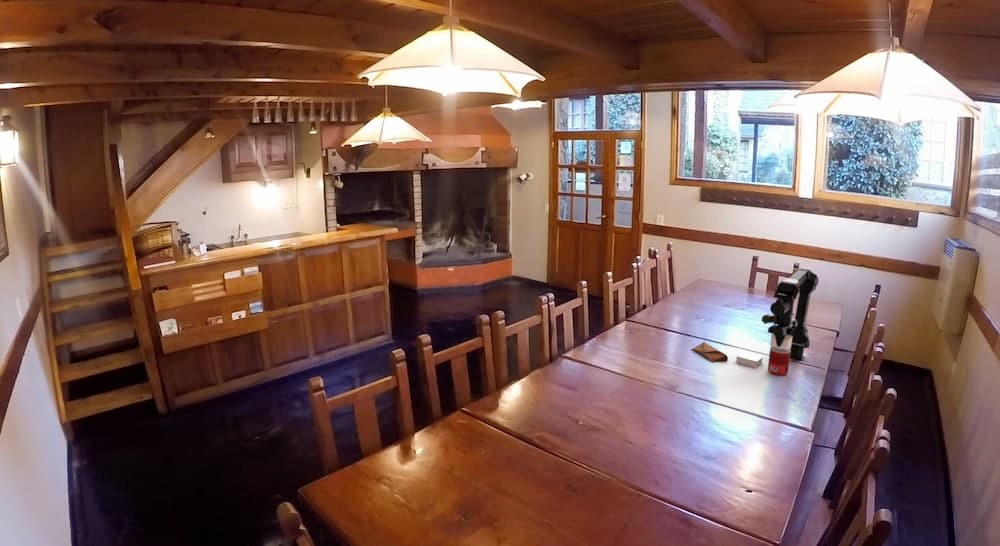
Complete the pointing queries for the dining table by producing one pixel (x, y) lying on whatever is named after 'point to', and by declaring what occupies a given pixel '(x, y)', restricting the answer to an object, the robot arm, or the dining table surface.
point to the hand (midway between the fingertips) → (780, 345)
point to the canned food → (778, 361)
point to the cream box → (785, 344)
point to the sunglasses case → (710, 353)
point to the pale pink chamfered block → (749, 359)
